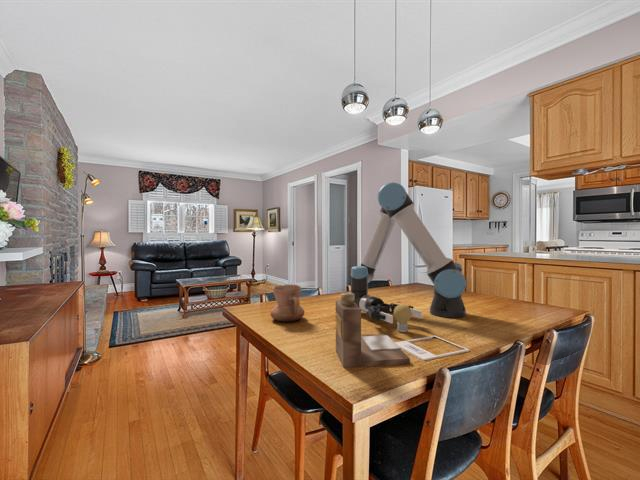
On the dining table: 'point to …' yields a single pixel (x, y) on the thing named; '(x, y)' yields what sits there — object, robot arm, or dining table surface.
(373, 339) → the brown l-shaped block
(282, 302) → the ceramic jug
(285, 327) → the dining table surface
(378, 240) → the robot arm
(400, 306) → the light bulb
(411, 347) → the photo frame
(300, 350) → the dining table surface
